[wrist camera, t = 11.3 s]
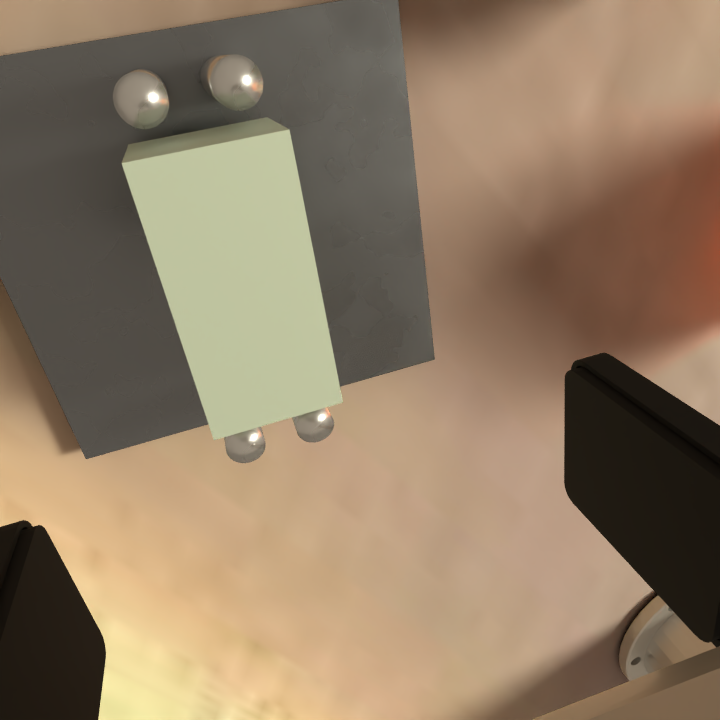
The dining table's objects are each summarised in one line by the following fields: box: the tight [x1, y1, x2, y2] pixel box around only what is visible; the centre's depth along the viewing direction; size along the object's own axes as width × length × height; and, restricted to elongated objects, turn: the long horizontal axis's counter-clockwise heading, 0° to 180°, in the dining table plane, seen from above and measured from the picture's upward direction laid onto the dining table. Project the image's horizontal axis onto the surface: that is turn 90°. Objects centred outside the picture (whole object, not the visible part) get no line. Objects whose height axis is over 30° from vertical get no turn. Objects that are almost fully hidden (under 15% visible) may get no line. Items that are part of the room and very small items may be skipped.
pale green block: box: [122, 117, 343, 440], centre depth 20 cm, size 4×9×4 cm, turn 9°
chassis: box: [0, 0, 435, 463], centre depth 22 cm, size 16×15×6 cm
